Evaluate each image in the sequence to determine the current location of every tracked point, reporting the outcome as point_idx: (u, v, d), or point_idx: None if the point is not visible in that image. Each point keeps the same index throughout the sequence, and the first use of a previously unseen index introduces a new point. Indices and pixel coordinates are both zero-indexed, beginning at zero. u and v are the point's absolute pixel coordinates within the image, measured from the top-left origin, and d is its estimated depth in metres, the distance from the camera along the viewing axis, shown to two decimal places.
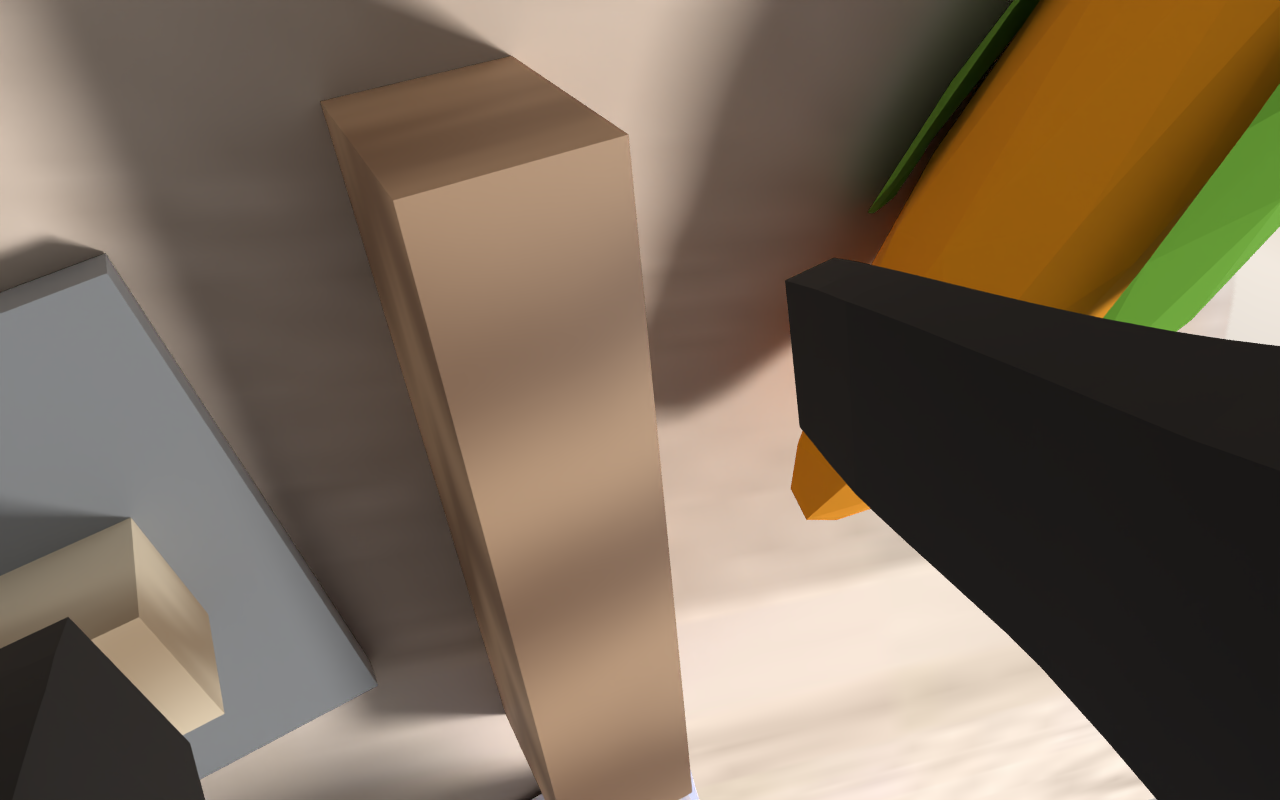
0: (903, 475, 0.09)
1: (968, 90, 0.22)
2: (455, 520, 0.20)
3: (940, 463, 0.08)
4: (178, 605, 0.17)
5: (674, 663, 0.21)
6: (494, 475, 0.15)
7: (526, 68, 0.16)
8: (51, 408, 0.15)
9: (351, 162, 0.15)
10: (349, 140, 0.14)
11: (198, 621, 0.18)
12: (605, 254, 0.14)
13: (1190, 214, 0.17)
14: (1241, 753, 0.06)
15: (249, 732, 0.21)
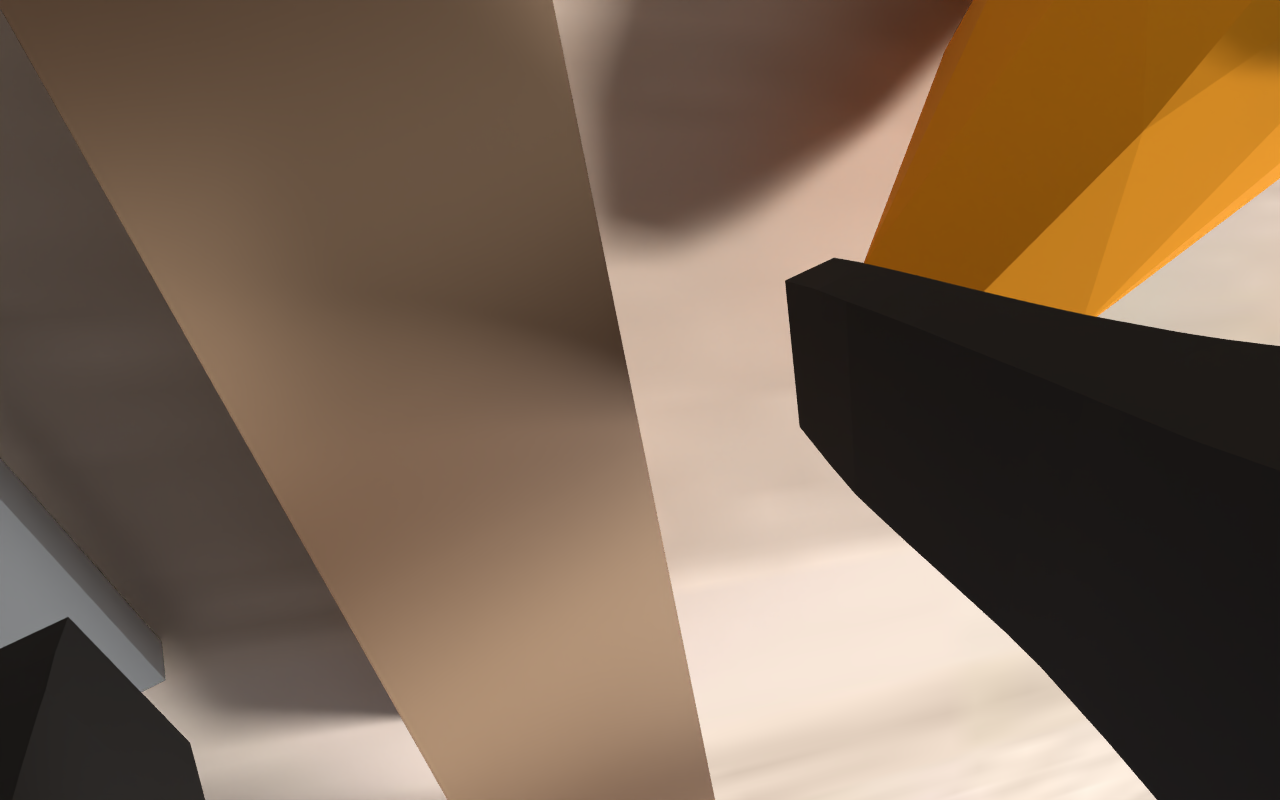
0: (903, 475, 0.09)
1: None
2: None
3: (940, 463, 0.08)
4: None
5: (669, 624, 0.12)
6: (174, 184, 0.06)
7: None
8: None
9: None
10: None
11: None
12: None
13: None
14: (1241, 753, 0.06)
15: None
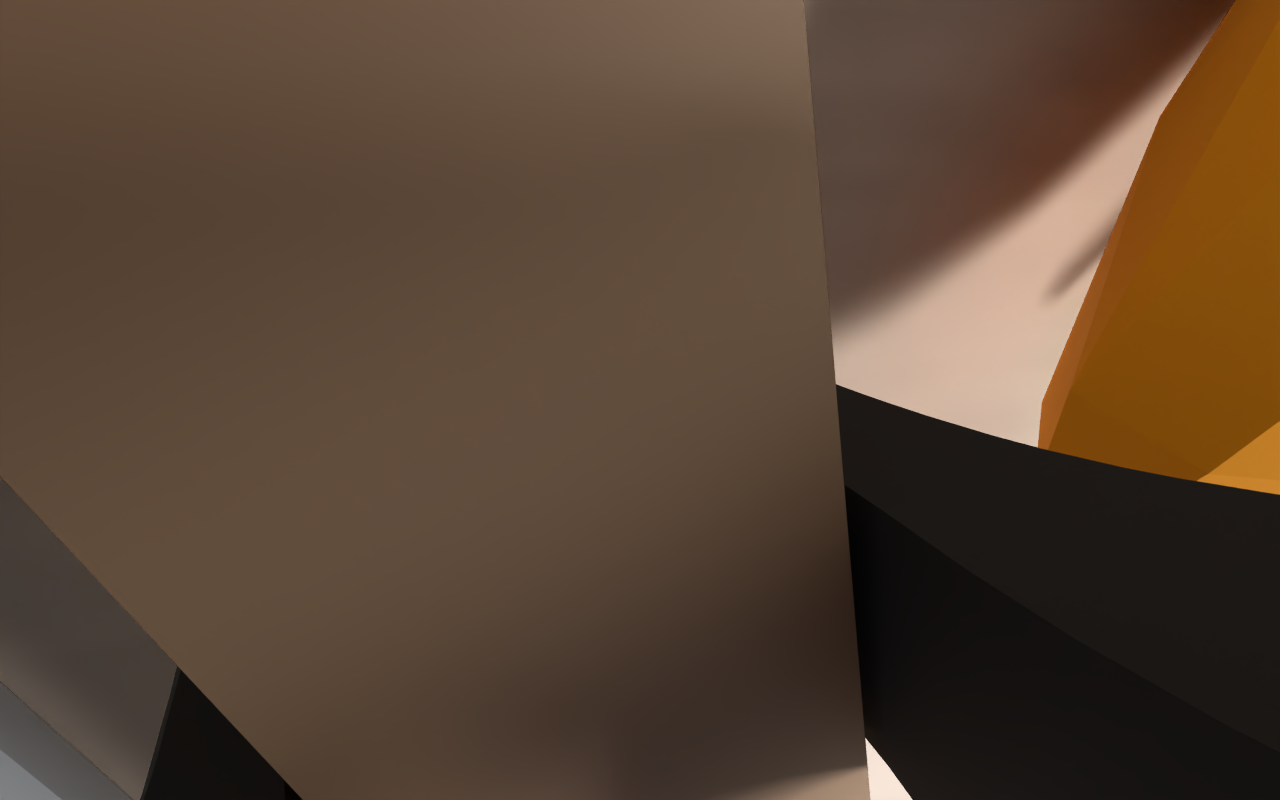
0: None
1: None
2: None
3: None
4: None
5: None
6: (193, 514, 0.04)
7: None
8: None
9: None
10: None
11: None
12: None
13: None
14: None
15: None
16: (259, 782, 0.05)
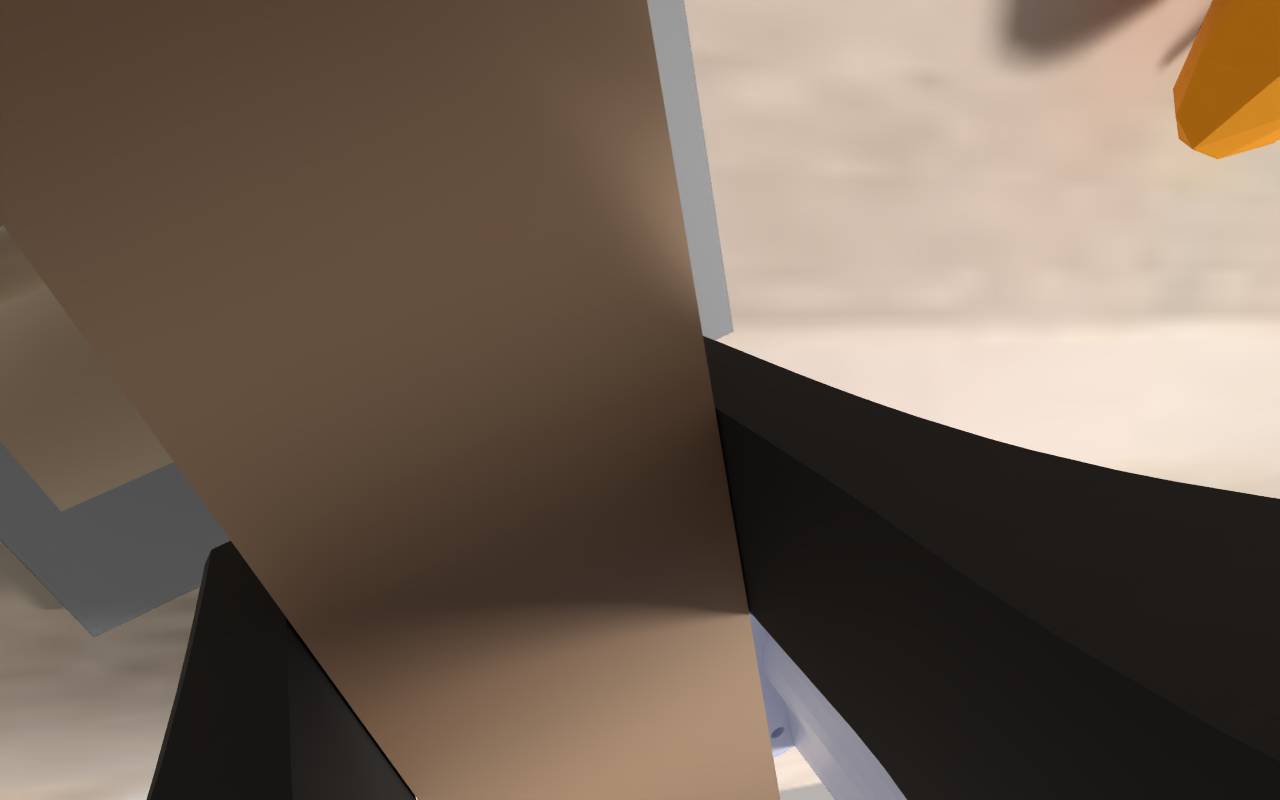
0: (748, 561, 0.08)
1: None
2: None
3: (775, 555, 0.08)
4: None
5: (756, 720, 0.10)
6: (167, 304, 0.05)
7: None
8: None
9: None
10: None
11: None
12: None
13: None
14: None
15: None
16: (266, 778, 0.05)
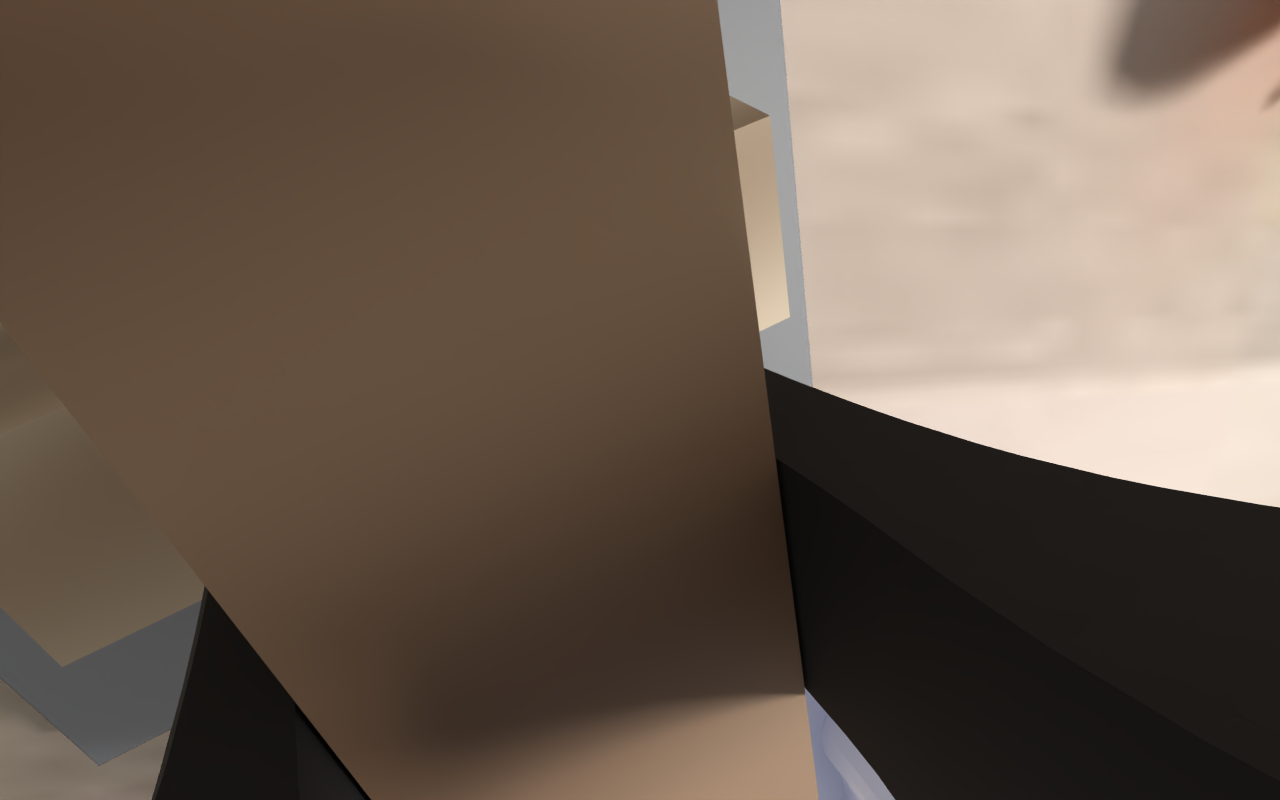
0: None
1: None
2: None
3: None
4: None
5: (806, 789, 0.09)
6: (163, 367, 0.04)
7: None
8: None
9: None
10: None
11: None
12: None
13: None
14: None
15: None
16: (273, 775, 0.05)
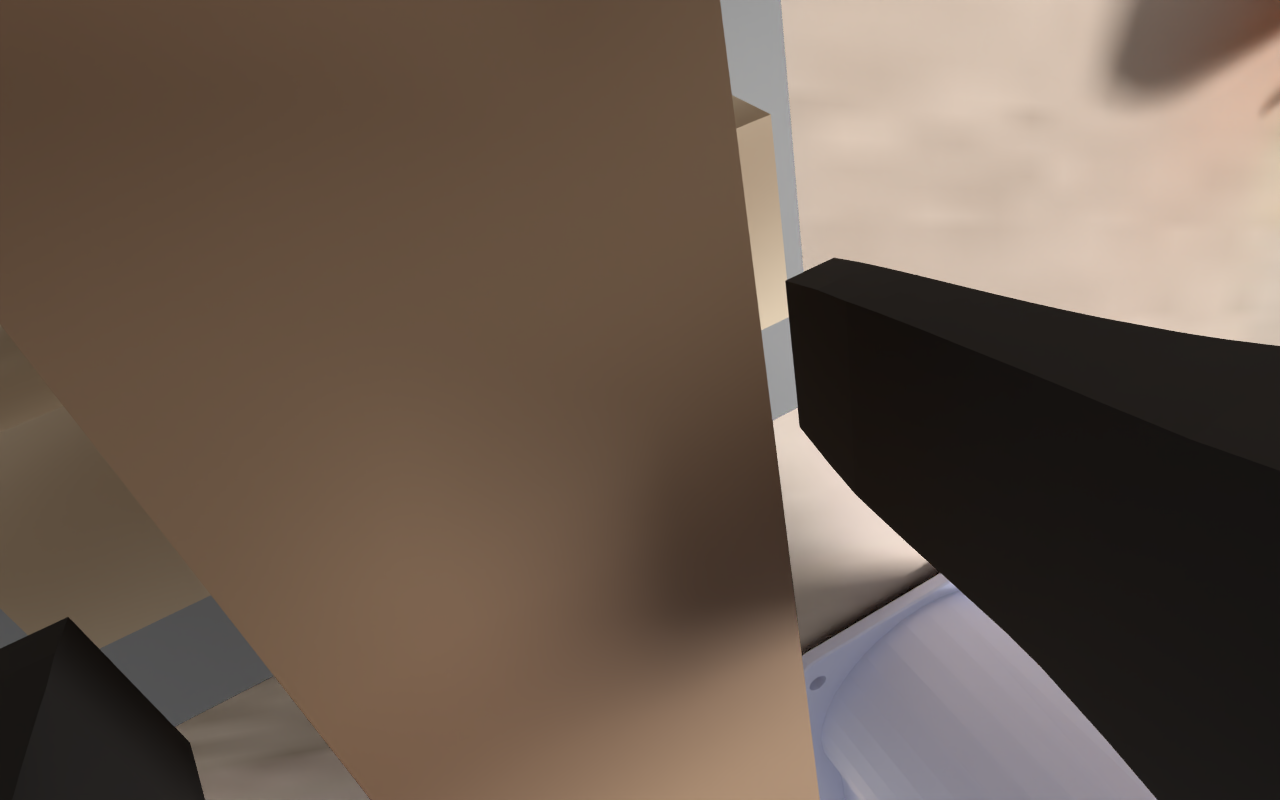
0: (903, 475, 0.09)
1: None
2: None
3: (940, 463, 0.08)
4: None
5: (807, 790, 0.09)
6: (162, 366, 0.04)
7: None
8: None
9: None
10: None
11: None
12: None
13: None
14: (1242, 753, 0.06)
15: None
16: None
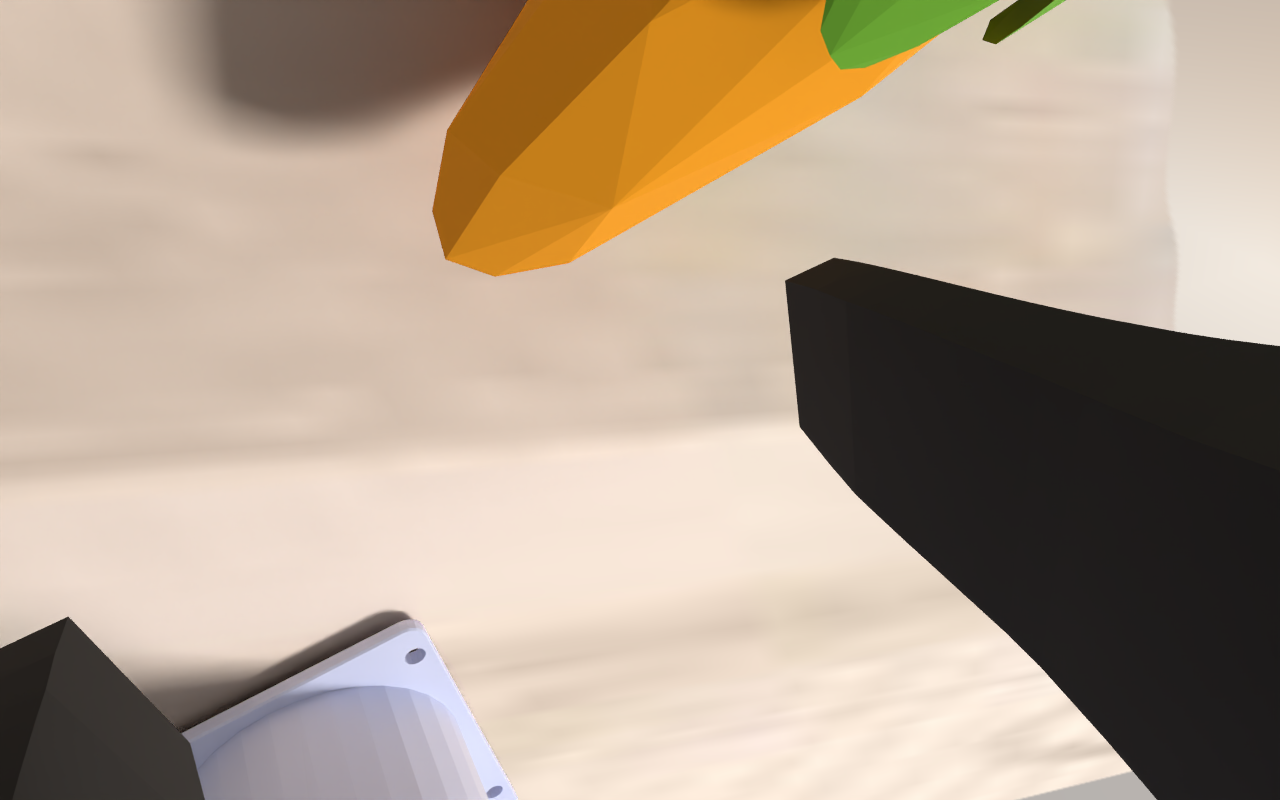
0: (903, 475, 0.09)
1: None
2: None
3: (940, 463, 0.08)
4: None
5: None
6: None
7: None
8: None
9: None
10: None
11: None
12: None
13: None
14: (1241, 753, 0.06)
15: None
16: None
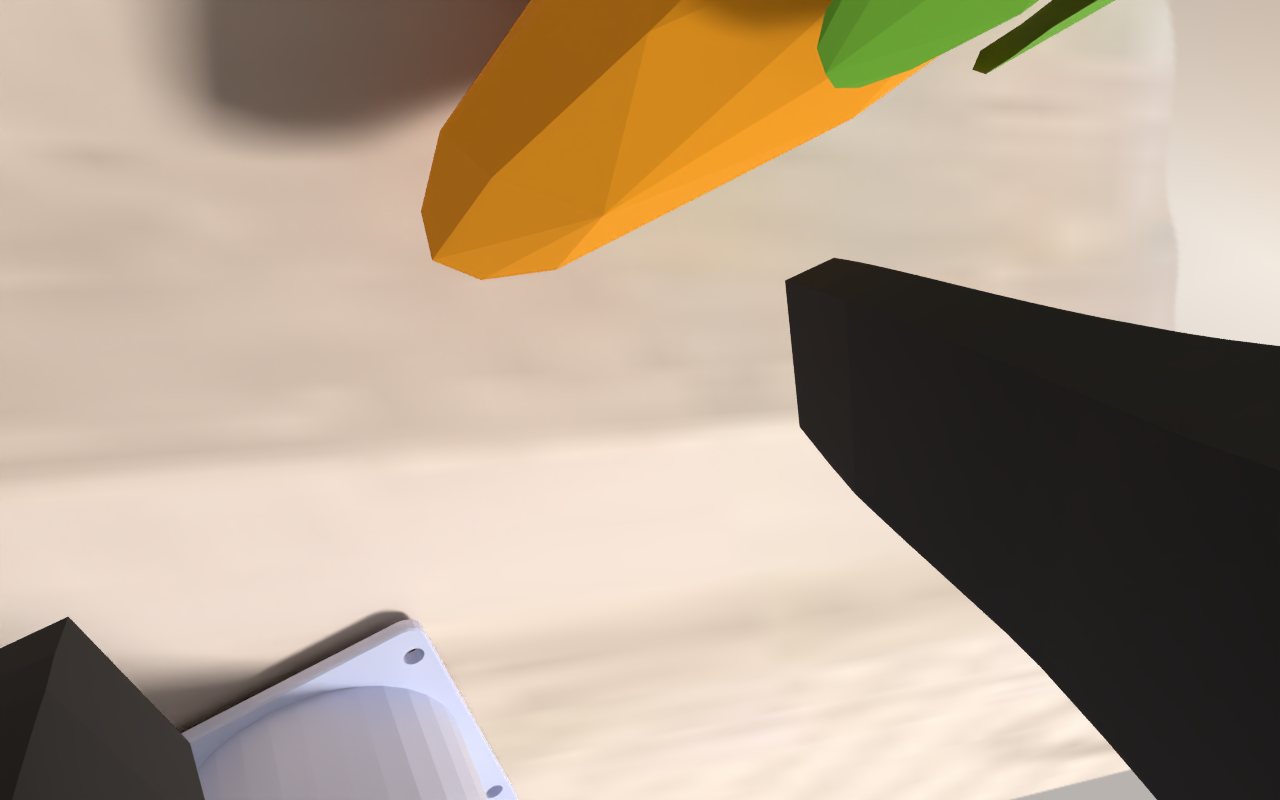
0: (903, 475, 0.09)
1: None
2: None
3: (940, 463, 0.08)
4: None
5: None
6: None
7: None
8: None
9: None
10: None
11: None
12: None
13: None
14: (1241, 753, 0.06)
15: None
16: None
